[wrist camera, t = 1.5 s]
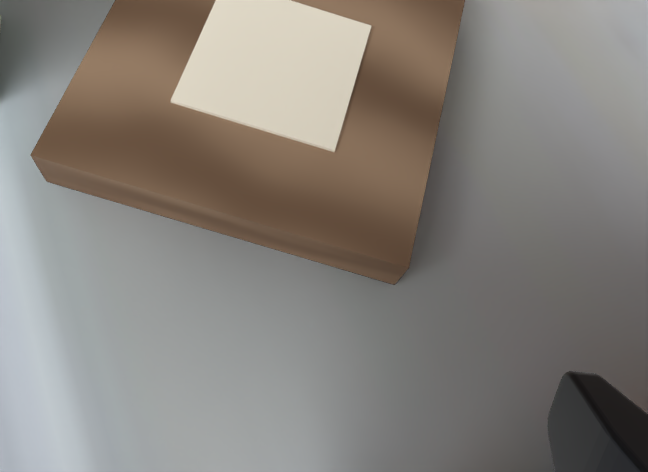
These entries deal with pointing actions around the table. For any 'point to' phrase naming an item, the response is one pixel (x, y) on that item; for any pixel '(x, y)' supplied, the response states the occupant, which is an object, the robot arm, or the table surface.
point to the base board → (264, 120)
